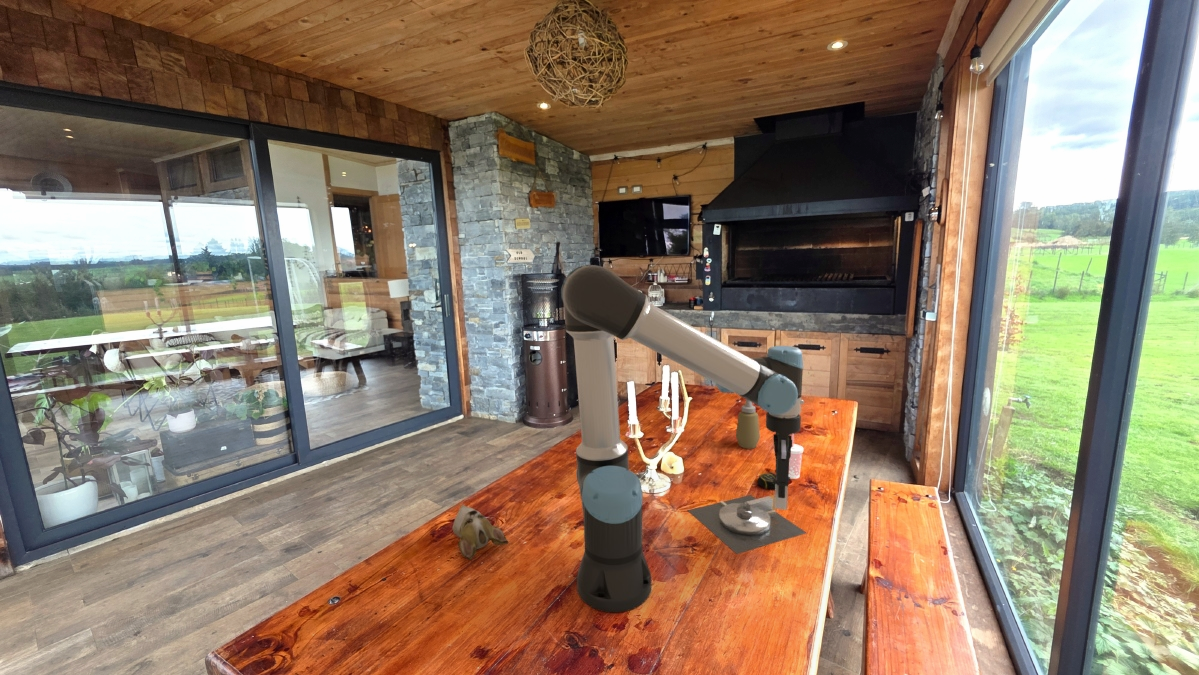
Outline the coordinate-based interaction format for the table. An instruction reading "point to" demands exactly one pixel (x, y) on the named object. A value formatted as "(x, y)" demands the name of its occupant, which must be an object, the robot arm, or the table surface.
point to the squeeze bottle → (748, 426)
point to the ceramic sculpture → (475, 531)
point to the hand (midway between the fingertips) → (780, 507)
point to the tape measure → (767, 481)
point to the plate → (741, 542)
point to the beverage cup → (795, 460)
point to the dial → (748, 516)
